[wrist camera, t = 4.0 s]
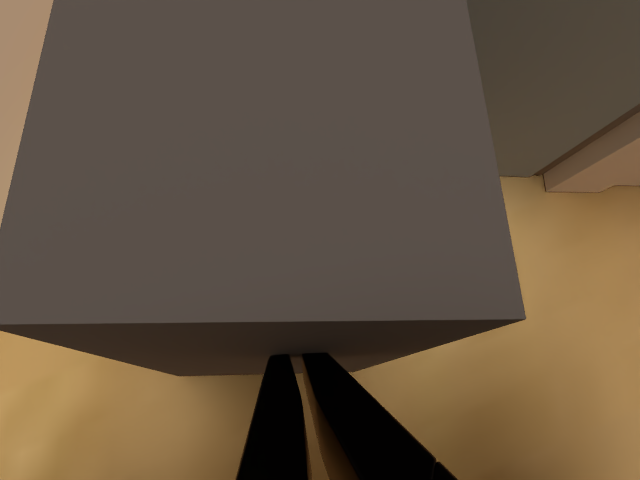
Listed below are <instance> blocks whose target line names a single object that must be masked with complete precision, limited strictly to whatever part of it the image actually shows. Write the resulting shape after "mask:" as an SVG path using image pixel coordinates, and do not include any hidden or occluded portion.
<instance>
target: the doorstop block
mask: <svg viewBox="0 0 640 480" xmlns="http://www.w3.org/2000/svg"><path fill="white" fill-rule="evenodd" d="M525 319H526V316H525V311H524V305H523V300H522V295H521V289H520V284H519V279H518V273H517V268H516V263H515V257H514V252H513V247H512V241H511V236H510V231H509V225H508V220H507V215H506V210H505V204H504V199H503V194H502V188H501V183H500V178H499V172H498V167H497V162H496V156H495V151H494V146H493V140H492V135H491V130H490V124H489V119H488V114H487V108H486V103H485V98H484V93H483V87H482V82H481V77H480V71H479V66H478V61H477V55H476V50H475V45H474V39H473V34H472V29H471V23H470V18H469V13H468V7H467V2H466V0H54V1H53V5H52V9H51V14H50V18H49V22H48V27H47V31H46V35H45V39H44V44H43V48H42V52H41V57H40V61H39V65H38V69H37V74H36V78H35V82H34V86H33V91H32V95H31V99H30V104H29V108H28V112H27V117H26V120H25V125H24V129H23V134H22V138H21V142H20V146H19V151H18V155H17V159H16V163H15V168H14V172H13V176H12V180H11V185H10V189H9V194H8V198H7V202H6V206H5V210H4V214H3V219H2V223H1V228H0V331H4V332H8V333H12V334H16V335H20V336H24V337H27V338H31V339H35V340H39V341H43V342H47V343H51V344H55V345H59V346H63V347H66V348H70V349H74V350H78V351H82V352H86V353H90V354H94V355H98V356H102V357H105V358H109V359H113V360H117V361H121V362H125V363H129V364H133V365H137V366H141V367H144V368H148V369H152V370H156V371H160V372H164V373H168V374H172V375H176V376H206V375H248V374H264V372H265V369H266V365H267V361H268V358H269V357H270V356H272V355H282V354H289V355H290V358H291V362H292V365H293V369H294V373H303V371H302V363H301V354H305V353H329V354H330V355H331V356H332V357H333V358H334V359H335V360H336V361H337V362H338V363H339V364H340V365H341V366H342V367H343V368H344V369H345V370H346V371H347V372H355V371H358V370H361V369H365V368H368V367H371V366H374V365H378V364H381V363H384V362H387V361H391V360H394V359H397V358H401V357H404V356H407V355H410V354H414V353H417V352H420V351H423V350H427V349H430V348H433V347H437V346H440V345H443V344H446V343H450V342H453V341H456V340H460V339H463V338H466V337H469V336H473V335H476V334H479V333H482V332H486V331H489V330H492V329H496V328H499V327H502V326H505V325H509V324H512V323H515V322H519V321H522V320H525Z"/></svg>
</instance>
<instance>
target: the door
mask: <svg viewBox="0 0 640 480" xmlns="http://www.w3.org/2000/svg"><path fill="white" fill-rule="evenodd" d="M466 2H467V7H468V13H469V18H470V23H471V29H472V34H473V39H474V45H475V50H476V55H477V61H478V66H479V71H480V77H481V82H482V87H483V93H484V98H485V103H486V108H487V114H488V119H489V124H490V130H491V135H492V140H493V146H494V151H495V156H496V162H497V167H498V172H499V176H516V177H530V176H532V175H533V174H534V175H542V174H544V173H546V172H547V171H549V170H550V169H552V168H553V167H555V166H556V165H558V164H559V163H561V162H563V161H564V160H566V159H567V158H569V157H570V156H572V155H573V154H575V153H576V152H578V151H580V150H581V149H583V148H584V147H586V146H587V145H589V144H590V143H592V142H593V141H595V140H597V139H598V138H600V137H601V136H603V135H604V134H606V133H607V132H609V131H610V130H612V129H613V128H615V127H617V126H618V125H620V124H621V123H623V122H624V121H626V120H627V119H629V118H630V117H632V116H634V115H635V114H637V113H638V112H640V0H466Z"/></svg>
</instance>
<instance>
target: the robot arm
mask: <svg viewBox="0 0 640 480" xmlns="http://www.w3.org/2000/svg"><path fill="white" fill-rule="evenodd" d="M301 363H302V371H303V378H304V384H305V388H306V392H307V397H308V401H309V405H310V410H311V414H312V418H313V422H314V427H315V431H316V435H317V439H318V444H319V448H320V451H321V455H322V459H323V462H324V465H325V468H326V470H327V473H328V476H329V479H330V480H458V479H457V478H456V477H455V476H454V475H453V474H452V473H451V472H450V471H449V470H448V469H447V468H446V467H445V466H443V465H442V464H441V463H440V462H436V458H435V457H434V456H433V455H432V454H431V453H430V452H429V451H428V450H427V449H426V448H425V447H424V446H423V445H422V444H421V443H420V442H419V441H418V440H417V439H416V438H415V437H414V436H413V435H411V434H410V433H409V432H408V431H407V430H406V429H405V428H404V427H403V426H402V425H401V424H400V423H399V422H398V421H397V420H396V419H395V418H394V417H393V416H392V415H391V414H390V413H389V412H388V411H387V410H386V409H385V408H384V407H383V406H382V405H381V404H380V403H379V402H378V401H377V400H376V399H375V398H374V397H373V396H372V395H371V394H369V393H368V392H367V391H366V390H365V389H364V388H363V387H362V386H361V385H360V384H359V383H358V382H357V381H356V380H355V379H354V378H353V377H352V376H351V375H350V374H349V373H348V372H347V371H346V370H345V369H344V368H343V367H342V366H341V365H340V364H339V363H338V362H337V361H336V360H335V359H334V358H333V357H332V356H331V355H330V354H329V353H305V354H301ZM236 480H312V473H311V465H310V458H309V450H308V443H307V436H306V428H305V421H304V413H303V406H302V400H301V395H300V391H299V387H298V384H297V380H296V376H295V373H294V369H293V365H292V362H291V358H290V355H289V354H282V355H272V356H270V357H269V358H268V361H267V365H266V369H265V372H264V376H263V380H262V383H261V387H260V391H259V394H258V398H257V402H256V406H255V409H254V413H253V417H252V420H251V424H250V428H249V431H248V435H247V439H246V443H245V446H244V450H243V454H242V457H241V461H240V465H239V469H238V472H237V476H236Z"/></svg>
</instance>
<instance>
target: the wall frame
mask: <svg viewBox="0 0 640 480" xmlns="http://www.w3.org/2000/svg"><path fill="white" fill-rule="evenodd" d="M543 175H544V181H545V187H546V192H601V191H603V190H605V189H607V188H609V187H611V186H614V185H623V186H640V112H638V113H637V114H635V115H634V116H632V117H630V118H629V119H627V120H626V121H624V122H623V123H621V124H620V125H618V126H617V127H615V128H613V129H612V130H610V131H609V132H607V133H606V134H604V135H603V136H601V137H600V138H598V139H597V140H595V141H593V142H592V143H590V144H589V145H587V146H586V147H584V148H583V149H581V150H580V151H578V152H576V153H575V154H573V155H572V156H570V157H569V158H567V159H566V160H564V161H563V162H561V163H559V164H558V165H556V166H555V167H553V168H552V169H550V170H549V171H547V172H546V173H544V174H543Z"/></svg>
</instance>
